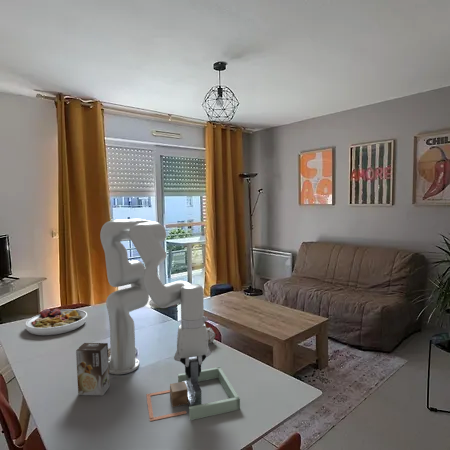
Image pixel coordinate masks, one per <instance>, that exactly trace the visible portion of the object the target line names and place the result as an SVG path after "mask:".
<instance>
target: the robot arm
mask: <svg viewBox="0 0 450 450" xmlns="http://www.w3.org/2000/svg"><path fill="white" fill-rule="evenodd" d="M99 236H100V242H101V246H102V249H103V251H104V257H105V259H104V260H105V267H106V275H107V281H108V283H109V286H111V287H113V288H118V287H119V288H120V287H125V286H128V285H130V287H127V288H126V287H125V288H122V289H117V290H115V291H113V292H111V293H110V294H109V295H107V298H106V301H105V305H106V309H107V310H106V311H107V314H108V321H109V343H110V344H109V345H110V354H109V356H108V362H109V374H112V375H125V374H126V375H127V374H128V373H132V372H135V371H136V370H137V369H138V368H139V366H140V360H139V359H138V358H137V357H136V333H135V329H136V328H135V321H134V319H133V317H132V316H131V315H130V313H131V312H133V311H137V310H139V309H142V308H144V307H146V306H147V305H148V303H149V300H150V299H151V301H152V302H153V304H154V305H155V306H157V307H158V308H161V309H166V308H169V307H173V306H174V305H177V304H180V325H179V326H178V329H177V335H176V336H177V338H176V351H175V354H174V356H173V359H174V361H177V362H180V363H182V365H184V369H185V370H184V373H185V374H186V375H187V376H188V378H190V377H191V376H190V364H189V357H195V356H196V358H197V360H198V377H199V376H200V372H201V370H202V364H203V362H204V361H205V360H206V359H207V358H208V357H209V356H211V355H212V351H211V349H210V347H209V343H208V337H207V330H206V328H207V326H206V323H205V322H207V321H209V319H208V318H209V317H208V316H204V288H203V286H202V285H200V284H196V283H191V282H189V281H186V280H182V279H181V280H180V279H179V280H176V281H172V282H168V283H164V284H163V282H162V280H160V278H159V275H158V273H157V270H158V269H157V267H159V266H160V265H162V263H163V262H164V261H165V260H166V258H167V252H166V250H165V248H164V247H163V246H162V243H164V241H165V240H166V238H167V231H166V229H165V227H164V226H163V225H162V224H161V223H160V222H158V221H152V220H146V219H142V218H129V219H127V218H124V219H113V220H110V221H109V220H108V221H106V222H104V224H103V225H102V226H101V230H100V234H99ZM123 241H131V242H132V245H133V246H134V247H135V250H136V252H137V253H138V255H139V256H140V259H141V260H142V262H141V261H140V260H137V259H136V260H135V259H132V260H129V257H128V251H127V249H126V247H125V245H124V244H123V243H122V242H123ZM143 263H144V264H143ZM149 298H150V299H149Z"/></svg>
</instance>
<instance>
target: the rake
mask: <svg viewBox="0 0 450 450" xmlns="http://www.w3.org/2000/svg"><path fill="white" fill-rule="evenodd" d="M189 364H190V376H191V377H190V378H188V376H187V375H186V381H185V384H186V386H187V389H188V404H187V405H188V408H189V407H191V406H196V405H201V404H203V403H202V389H201V386H200V384H199V381H198V360H197V356H195V357H189ZM182 382H184V381H182Z"/></svg>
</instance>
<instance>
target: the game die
mask: <svg viewBox="0 0 450 450" xmlns="http://www.w3.org/2000/svg"><path fill="white" fill-rule="evenodd" d="M212 327H213V326H212V325H211V326H210V327H206V330H207V337H208V344H213V345H214V340H215V338H216V336H218V334H217V333H215V331H214V330H213V328H212Z"/></svg>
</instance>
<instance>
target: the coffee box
mask: <svg viewBox="0 0 450 450" xmlns="http://www.w3.org/2000/svg"><path fill="white" fill-rule="evenodd" d="M75 354H76V356H75V357H76V358H75V359H76V375H77V376H76V377H77V380H76V381H77V395H78V396H104V395H105V394H106V392H107V391H108V389H109V388H110V373H109V362H108V358H109V345H108V342H84V343H82V344H81V345H80V346H79V347H78V348H77V349H76V351H75Z"/></svg>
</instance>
